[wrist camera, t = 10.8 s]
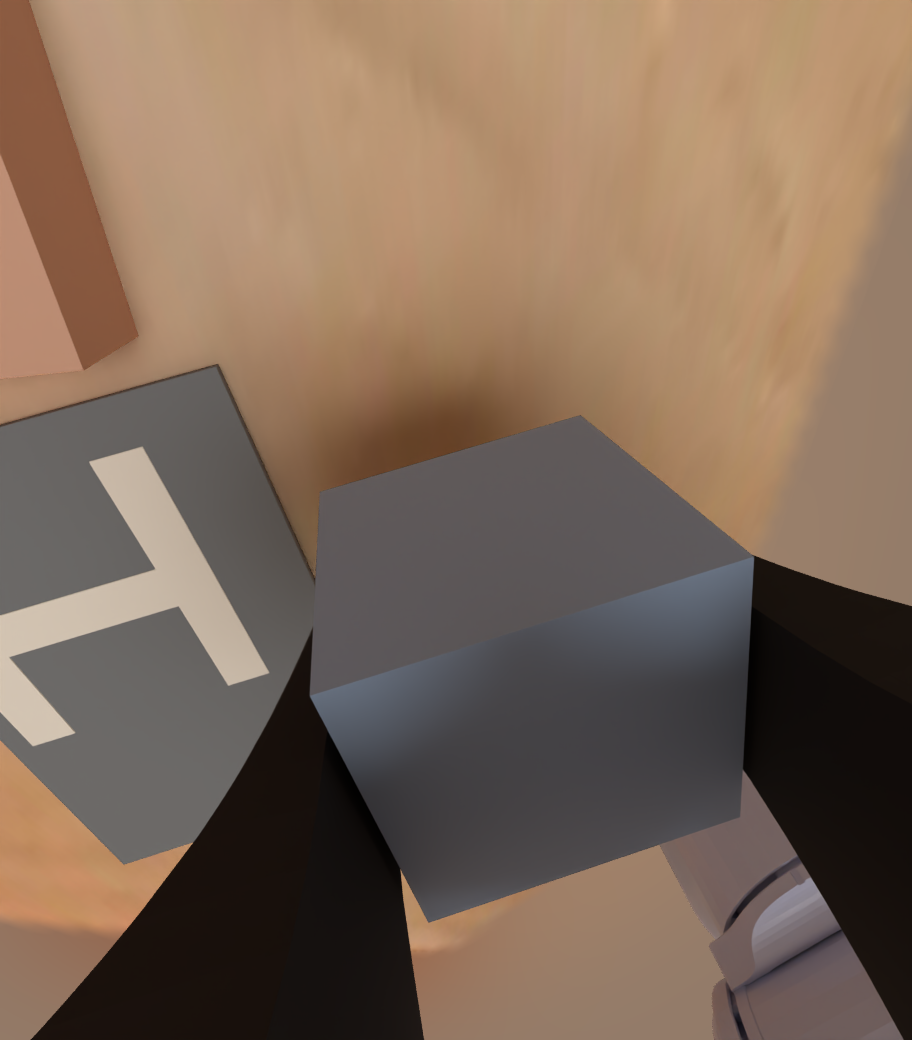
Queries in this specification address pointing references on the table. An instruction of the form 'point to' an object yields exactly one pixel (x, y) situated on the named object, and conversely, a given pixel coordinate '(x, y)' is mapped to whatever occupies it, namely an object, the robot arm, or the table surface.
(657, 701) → the blue cube
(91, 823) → the letter mat
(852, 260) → the table surface
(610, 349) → the table surface
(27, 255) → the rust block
